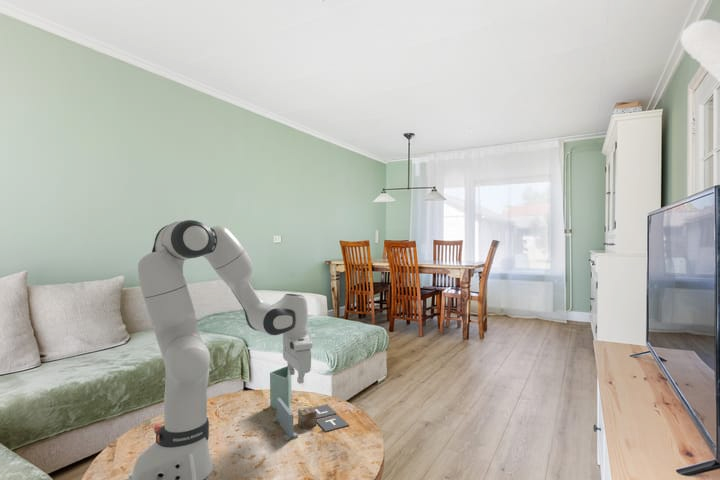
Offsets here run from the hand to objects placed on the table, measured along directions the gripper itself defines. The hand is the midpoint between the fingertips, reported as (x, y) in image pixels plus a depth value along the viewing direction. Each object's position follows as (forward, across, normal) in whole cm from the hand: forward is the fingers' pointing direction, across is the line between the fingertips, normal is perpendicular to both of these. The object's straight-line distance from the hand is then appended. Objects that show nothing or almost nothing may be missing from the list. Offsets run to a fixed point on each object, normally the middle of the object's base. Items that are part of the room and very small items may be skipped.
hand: (295, 378), depth 132 cm
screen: (+17, -1, -4) cm, 18 cm away
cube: (+17, 0, +4) cm, 18 cm away
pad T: (+17, +4, +12) cm, 21 cm away
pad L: (+17, -6, +12) cm, 22 cm away
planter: (+17, -20, 0) cm, 27 cm away
